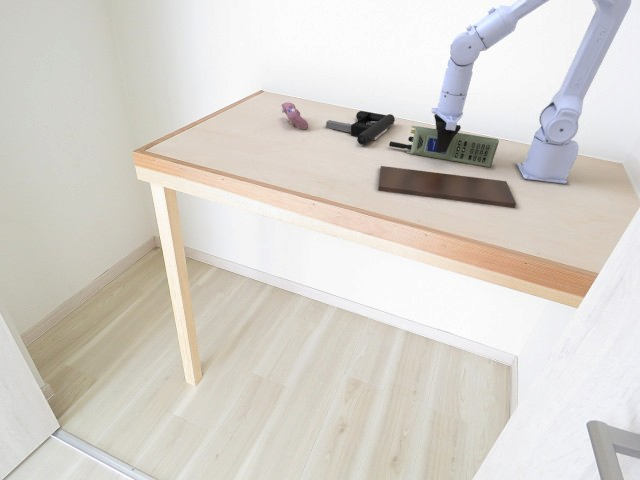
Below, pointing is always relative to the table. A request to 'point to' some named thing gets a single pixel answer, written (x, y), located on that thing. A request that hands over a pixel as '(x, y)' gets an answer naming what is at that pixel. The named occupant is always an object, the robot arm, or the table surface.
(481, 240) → the table surface
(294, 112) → the pink rounded piece
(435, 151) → the handheld radio
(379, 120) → the door handle
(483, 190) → the walnut board
